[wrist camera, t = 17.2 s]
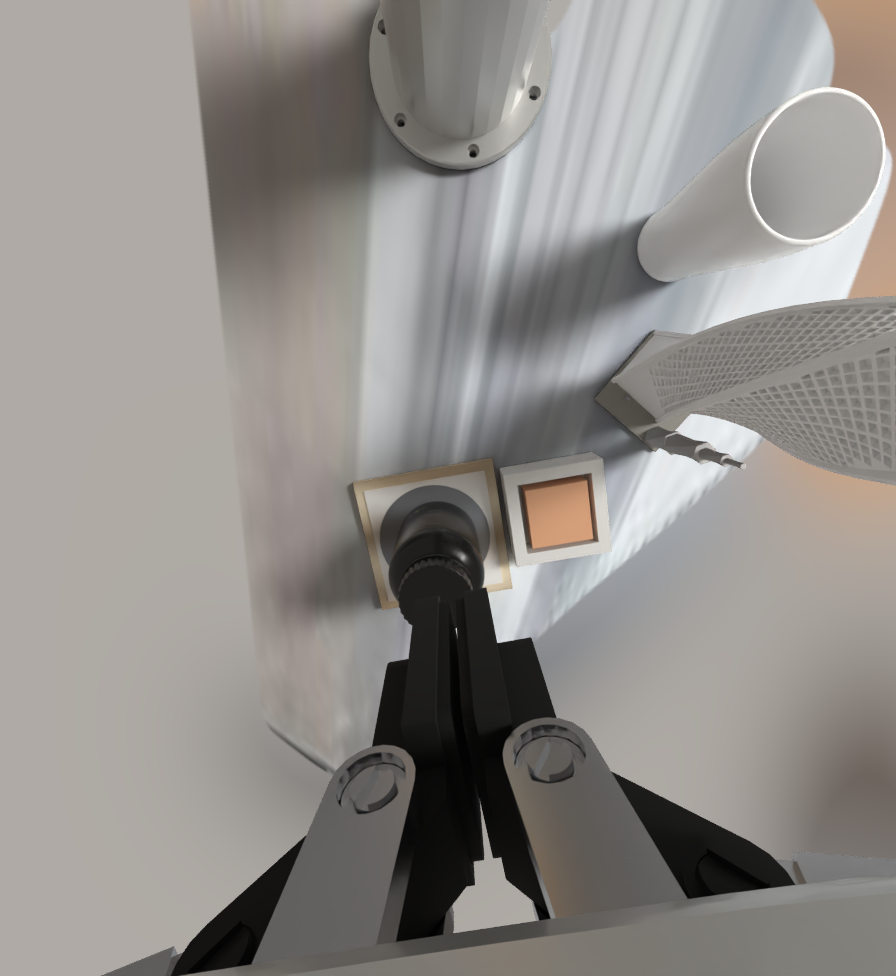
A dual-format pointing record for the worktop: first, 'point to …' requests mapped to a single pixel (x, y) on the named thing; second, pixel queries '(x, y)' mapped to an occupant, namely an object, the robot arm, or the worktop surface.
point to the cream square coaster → (455, 484)
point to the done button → (557, 511)
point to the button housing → (554, 469)
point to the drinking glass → (771, 189)
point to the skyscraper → (774, 385)
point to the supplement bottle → (435, 557)
